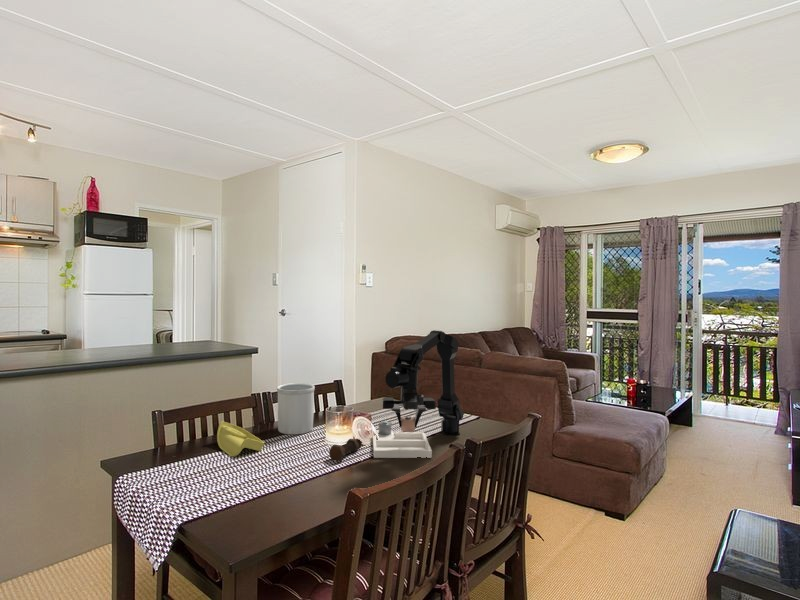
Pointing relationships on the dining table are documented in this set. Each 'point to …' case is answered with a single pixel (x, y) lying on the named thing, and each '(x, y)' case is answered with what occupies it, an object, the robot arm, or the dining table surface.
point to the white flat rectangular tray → (401, 445)
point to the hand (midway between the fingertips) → (408, 427)
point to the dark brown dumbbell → (344, 449)
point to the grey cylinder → (385, 428)
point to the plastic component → (236, 439)
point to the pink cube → (407, 424)
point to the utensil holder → (295, 408)
